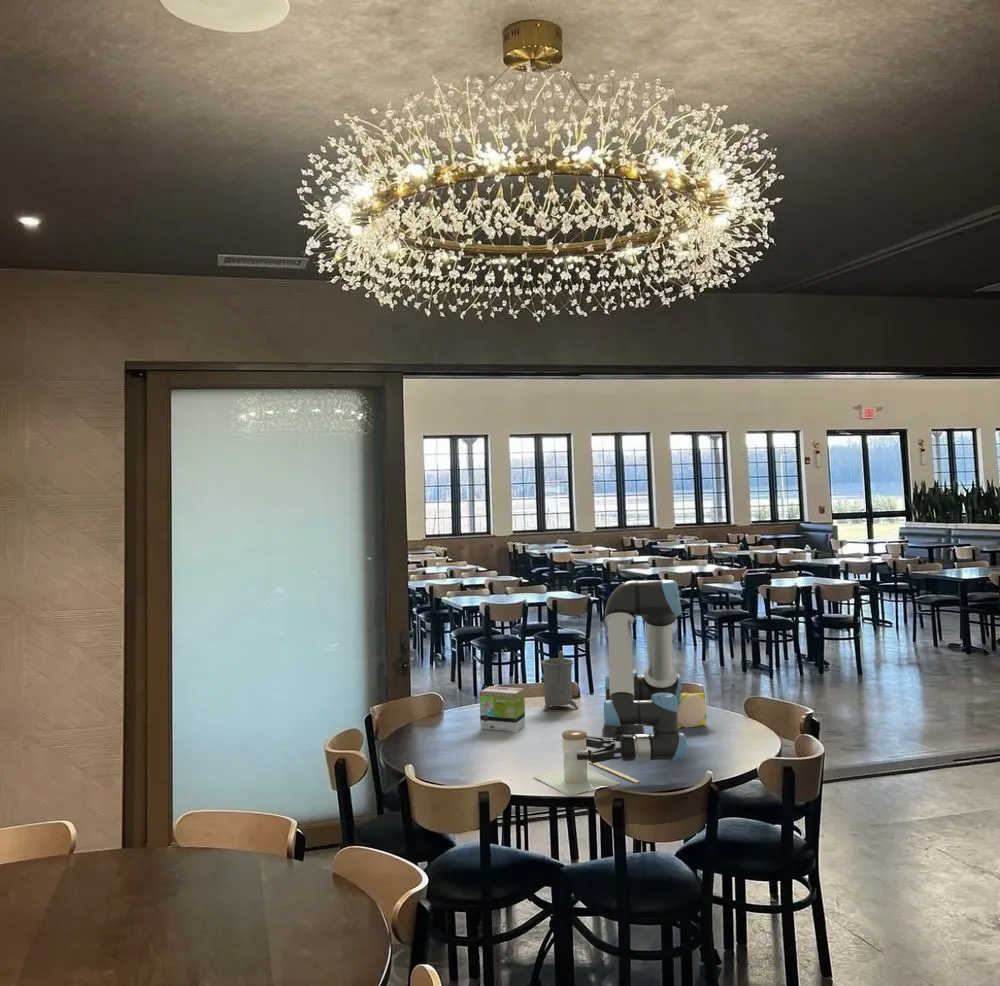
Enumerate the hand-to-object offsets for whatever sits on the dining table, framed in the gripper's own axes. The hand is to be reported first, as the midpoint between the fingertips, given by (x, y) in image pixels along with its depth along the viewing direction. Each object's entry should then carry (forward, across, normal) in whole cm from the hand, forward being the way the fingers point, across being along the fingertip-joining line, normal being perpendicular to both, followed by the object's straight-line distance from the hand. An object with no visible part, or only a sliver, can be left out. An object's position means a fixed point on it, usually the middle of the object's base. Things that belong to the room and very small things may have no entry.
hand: (563, 749), depth 241 cm
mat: (-3, 0, -10) cm, 10 cm away
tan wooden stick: (-15, +7, -10) cm, 19 cm away
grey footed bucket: (-3, +92, -10) cm, 93 cm away
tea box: (+20, +64, -10) cm, 68 cm away
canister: (-3, 0, -9) cm, 10 cm away
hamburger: (-50, +59, -10) cm, 78 cm away
